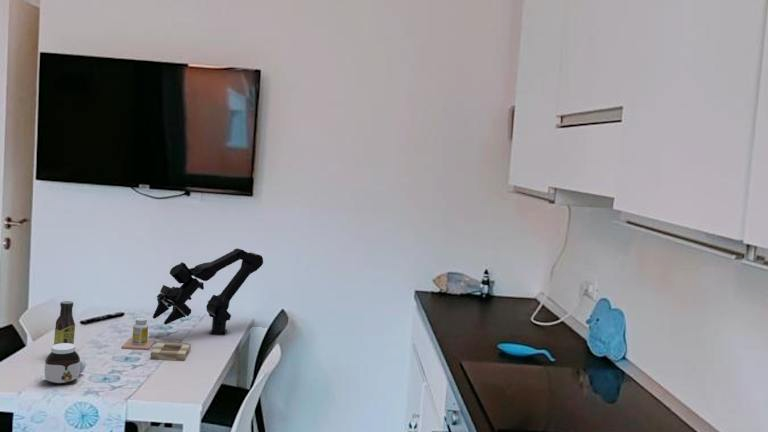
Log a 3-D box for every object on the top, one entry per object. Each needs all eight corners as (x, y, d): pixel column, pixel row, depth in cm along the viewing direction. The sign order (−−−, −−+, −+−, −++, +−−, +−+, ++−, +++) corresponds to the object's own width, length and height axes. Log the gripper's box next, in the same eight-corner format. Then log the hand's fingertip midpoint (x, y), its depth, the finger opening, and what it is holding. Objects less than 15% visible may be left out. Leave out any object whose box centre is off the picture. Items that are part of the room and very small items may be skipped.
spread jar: (43, 387, 195) (45, 351, 194) (44, 374, 205) (46, 340, 204) (86, 384, 201) (88, 349, 200) (84, 371, 211) (86, 338, 210)
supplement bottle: (132, 345, 238) (133, 320, 237) (132, 341, 243) (133, 316, 242) (147, 345, 240) (148, 320, 239) (147, 340, 245) (148, 316, 244)
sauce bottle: (64, 361, 218) (67, 305, 216) (49, 358, 219) (51, 303, 217) (77, 355, 224) (80, 301, 222) (62, 353, 226) (64, 299, 224)
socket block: (158, 348, 240) (158, 342, 240) (190, 350, 242) (190, 344, 241) (150, 359, 228) (150, 352, 228) (184, 360, 230) (184, 354, 230)
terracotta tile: (129, 340, 246) (129, 338, 246) (155, 342, 247) (155, 340, 247) (121, 348, 236) (121, 346, 236) (149, 350, 237) (149, 348, 237)
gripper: (162, 273, 255) (134, 302, 248) (185, 283, 242) (157, 314, 235) (179, 290, 261) (152, 319, 254) (202, 300, 249) (175, 331, 242)
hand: (158, 320), depth 246 cm, fingers open, 9 cm apart
